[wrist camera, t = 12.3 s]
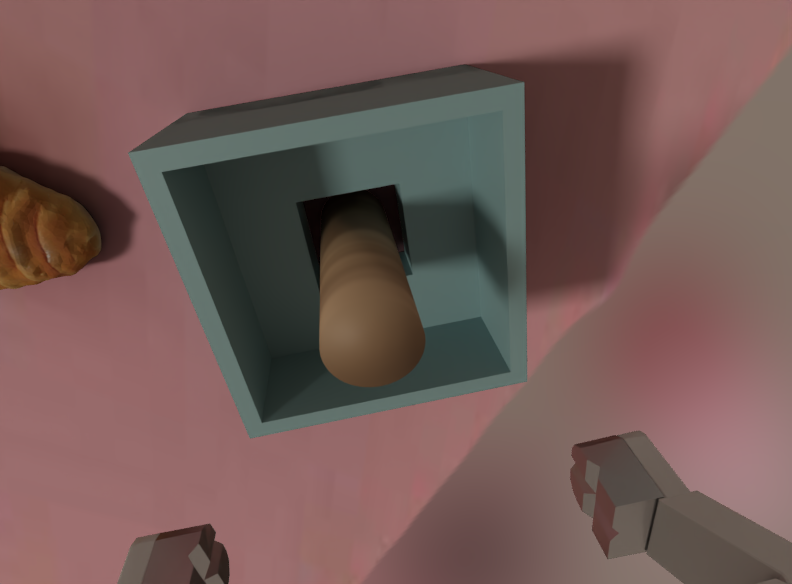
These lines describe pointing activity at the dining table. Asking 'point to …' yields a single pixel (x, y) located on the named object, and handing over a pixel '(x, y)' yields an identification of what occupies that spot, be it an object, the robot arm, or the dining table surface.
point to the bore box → (294, 249)
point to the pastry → (41, 233)
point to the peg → (365, 295)
